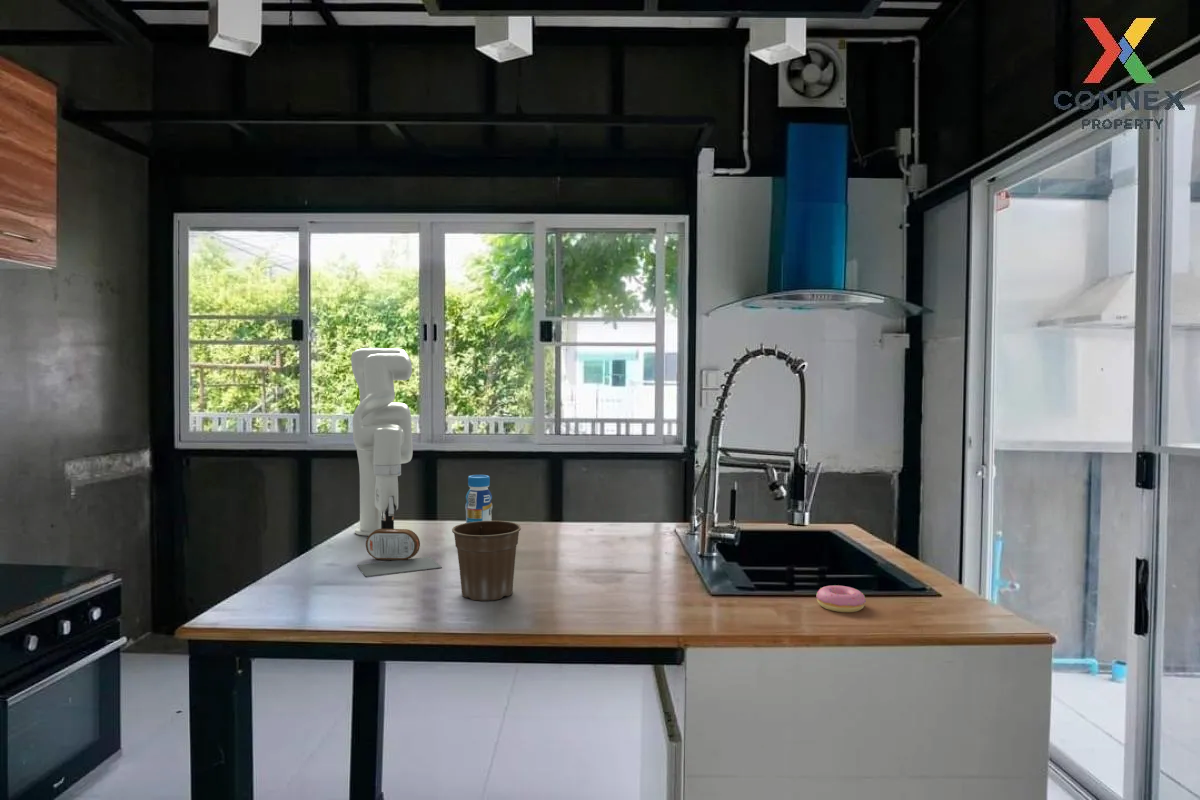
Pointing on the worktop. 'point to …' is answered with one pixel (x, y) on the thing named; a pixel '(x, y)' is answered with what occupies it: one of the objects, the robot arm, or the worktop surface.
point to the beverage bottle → (478, 499)
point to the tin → (392, 544)
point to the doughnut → (840, 598)
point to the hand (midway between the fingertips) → (387, 533)
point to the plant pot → (486, 558)
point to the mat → (398, 566)
